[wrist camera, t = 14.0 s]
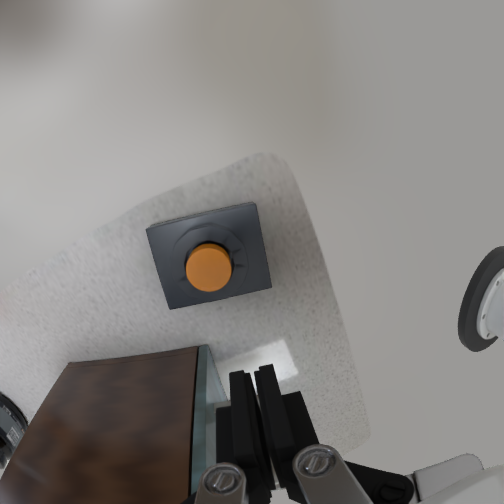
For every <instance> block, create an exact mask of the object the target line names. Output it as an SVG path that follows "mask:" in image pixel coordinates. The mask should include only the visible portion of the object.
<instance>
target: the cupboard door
mask: <svg viewBox="0 0 504 504" xmlns="http://www.w3.org/2000/svg"><path fill="white" fill-rule="evenodd" d="M256 397H257V400H258V404H259V398H258V395H256ZM226 406H231V400H229V401H228V400H227V398H226V395H225V392H224V390H223V387H222V384H221V381H220V379H219V376H218V373H217V370H216V367H215V364H214V362H213V359H212V356H211V353H210V350H209V347H208V345H204V346H200V347H199V356H198V368H197V381H196V396H195V412H194V431H193V454H192V490H191V495H192V494H193V493H194V492H196V491H197V488H198V483H199V479H200V476H201V474H202V473H203V472H204V470H205V469H207V468H208V467H210V466H211V465H214V464H216V408H219V407H226ZM259 407H260V404H259ZM260 411H261V409H260ZM270 459H271V458H270ZM271 464H272V461H271ZM272 470H273V475H274V480H275V485H276V490H272V491H271V492H273V491H278V490H283V489H286V488H283V489H281V487H280V485H279V482H278V479H277V476H276V473H275V470H274V467H273V464H272Z"/></svg>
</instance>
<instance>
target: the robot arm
mask: <svg viewBox="0 0 504 504" xmlns="http://www.w3.org/2000/svg"><path fill="white" fill-rule="evenodd" d="M477 331H478V334H479V335H480V336H481V337H482V338H484V339H491V338H493V337H494V336H497V337H499V338H500V339H502V340H503V341H504V268H503V269H501V270H500V271H499V272H498V273H497V274H496V275H495V276H494V277H493V279H492V280H491V282H490V284H489V285H488V287H487V289H486V291H485V293H484V296H483V298H482V301H481V303H480V307H479V310H478V315H477ZM254 375H255V381H256V386H257V392H258V398H259V404H260V407H259V404H258V400H257V397H256V393H255V389H254V386H253V382H252V379H251V375H250V373H244V370H241V371H236V372H231V373H229V380H230V400H231V406H226V407H219V408H216V464H214V465H211V466H210V467H208V468H207V469H205V470H204V472H203V473H202V474H201V476H200V479H199V483H198V488H197V491H196V492H194V493H193V494H192V495H191V496H189V497H188V498H187V499H186V500H184V501H183V502H182V503H180V504H269V503H270V502H271V501H270V498H271V497H272V494H271V491H272V490H276V485H275V480H274V475H273V470H272V464H273V467H274V470H275V473H276V476H277V479H278V482H279V485H280V487H281V489H283V488H286V490H287V493H288V496H289V499H291V500H294V501H296V502H298V503H301V504H504V464H502V465H497V466H494V467H491V468H487V469H483V466H482V463H481V461H480V459H479V458H478V457H477V456H475V455H473V454H463V455H460V456H457V457H455V458H452V459H449V460H447V461H444V462H441V463H438V464H436V465H432V466H429V467H426V468H423V469H420V470H416V471H414V473H413V474H410V475H405V476H403V475H400V474H395V473H390V472H386V471H382V470H377V469H373V468H369V467H366V466H362V465H358V464H355V463H351V462H347V461H344V460H343V459H342V457H341V456H340V454H339V453H338V452H337V451H336V450H335V449H334V448H333V447H331V446H329V445H323V444H319V441H318V438H317V435H316V433H315V430H314V427H313V424H312V422H311V419H310V416H309V413H308V411H307V408H306V405H305V402H304V400H303V397H302V394H301V392H300V391H297V392H294V393H290V394H285V395H281V392H280V389H279V385H278V382H277V378H276V374H275V371H274V367H273V364H269V365H265V366H260V367H259V371H254ZM260 409H261V411H260ZM270 458H271V459H270ZM271 461H272V464H271Z"/></svg>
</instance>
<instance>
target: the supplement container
mask: <svg viewBox="0 0 504 504" xmlns="http://www.w3.org/2000/svg"><path fill="white" fill-rule="evenodd" d="M26 430H27V424H26V422H25V420H24V418H23V416H22V414H21V413H20V412H19V410H18V409H17V408H16V407H15V406H14V405H13V404H12V403H11V402H10V401H9V400H8V399H7V398H5V397H4V396H2V395H1V394H0V469H4V467H5V465H6V463H7V460H10V459H11V457H12V455H13V453H14V451H15V449H16V448H17V446H18V444H19V442H20V440H21V438H22V437H23V435H24V433H25V431H26Z"/></svg>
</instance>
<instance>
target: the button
mask: <svg viewBox="0 0 504 504" xmlns="http://www.w3.org/2000/svg"><path fill="white" fill-rule="evenodd" d="M186 274H187V278H188V280H189V281H190V283H191V284H192V285H193V286H194V287H196V288H197V289H199V290H202V291H207V292H212V291H216V290H219V289H221V288H222V287H224V286H225V285H226V284H227V282H228V281H229V279H230V276H231V262H230V258H229V255H228V254H227V252H226V251H225V250H224V249H223V248H222V247H220V246H218V245H216V244H210V243H209V244H202V245H200V246H198V247H196V248H195V249H194V250H193V251H192V253H191V254H190V256H189V259H188V262H187V265H186Z"/></svg>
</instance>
